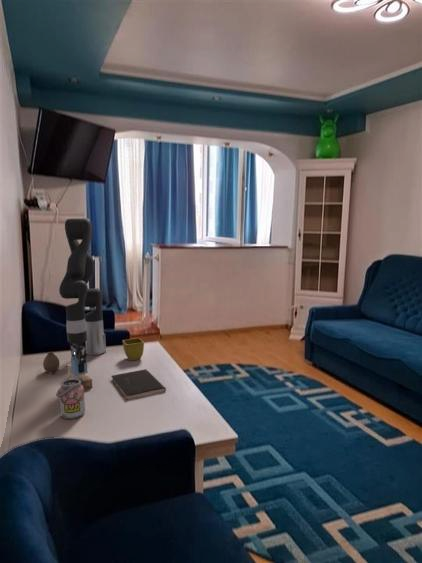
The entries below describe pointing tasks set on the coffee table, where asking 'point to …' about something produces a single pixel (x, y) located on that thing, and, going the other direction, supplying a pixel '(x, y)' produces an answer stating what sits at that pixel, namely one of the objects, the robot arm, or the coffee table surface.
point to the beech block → (71, 372)
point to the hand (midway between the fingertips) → (79, 370)
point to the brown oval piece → (51, 363)
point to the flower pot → (133, 348)
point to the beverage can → (71, 398)
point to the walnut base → (84, 381)
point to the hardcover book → (138, 384)
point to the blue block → (75, 367)
